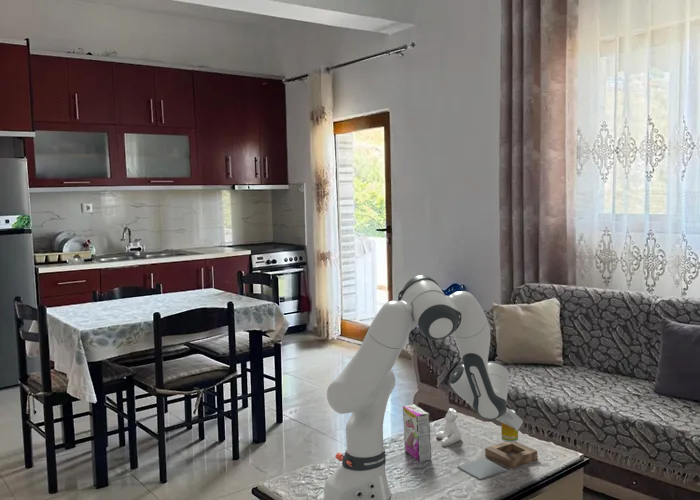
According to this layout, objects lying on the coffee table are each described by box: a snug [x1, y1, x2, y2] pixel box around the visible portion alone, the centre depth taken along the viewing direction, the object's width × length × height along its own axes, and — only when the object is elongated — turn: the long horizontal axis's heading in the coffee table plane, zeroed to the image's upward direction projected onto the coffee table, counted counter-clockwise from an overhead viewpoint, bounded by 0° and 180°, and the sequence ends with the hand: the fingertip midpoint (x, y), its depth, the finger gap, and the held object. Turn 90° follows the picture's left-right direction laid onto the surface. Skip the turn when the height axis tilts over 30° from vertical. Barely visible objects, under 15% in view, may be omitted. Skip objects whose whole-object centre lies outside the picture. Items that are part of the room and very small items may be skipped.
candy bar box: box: [402, 403, 432, 463], centre depth 227 cm, size 11×5×16 cm, turn 22°
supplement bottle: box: [500, 409, 519, 442], centre depth 221 cm, size 5×5×10 cm
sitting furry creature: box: [435, 407, 463, 447], centre depth 239 cm, size 10×9×12 cm
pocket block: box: [484, 441, 539, 470], centre depth 222 cm, size 12×12×3 cm
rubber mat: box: [457, 457, 508, 481], centre depth 215 cm, size 11×11×1 cm
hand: (511, 425), depth 221 cm, fingers closed on supplement bottle, 5 cm apart
